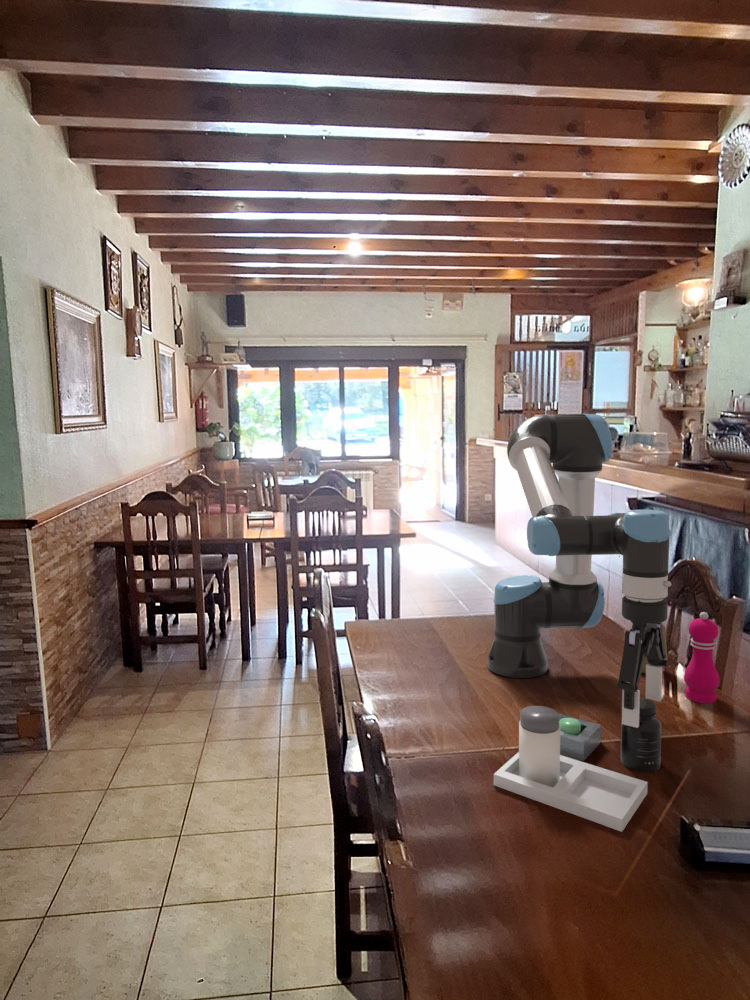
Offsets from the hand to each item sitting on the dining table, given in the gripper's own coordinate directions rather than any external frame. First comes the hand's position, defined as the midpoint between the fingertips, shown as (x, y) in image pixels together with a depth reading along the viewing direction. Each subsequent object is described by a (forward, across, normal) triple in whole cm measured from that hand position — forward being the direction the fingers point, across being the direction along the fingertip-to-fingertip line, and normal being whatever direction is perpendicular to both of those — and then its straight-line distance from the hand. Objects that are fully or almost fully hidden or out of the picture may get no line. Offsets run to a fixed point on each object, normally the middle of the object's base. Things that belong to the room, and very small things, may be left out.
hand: (642, 711), depth 119 cm
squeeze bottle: (+10, +48, +12) cm, 51 cm away
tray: (+11, -16, +7) cm, 20 cm away
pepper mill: (+10, +38, -2) cm, 40 cm away
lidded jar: (+10, -16, +13) cm, 23 cm away
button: (+8, -1, +13) cm, 16 cm away
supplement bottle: (+11, 0, 0) cm, 11 cm away
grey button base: (+10, -1, +13) cm, 17 cm away
